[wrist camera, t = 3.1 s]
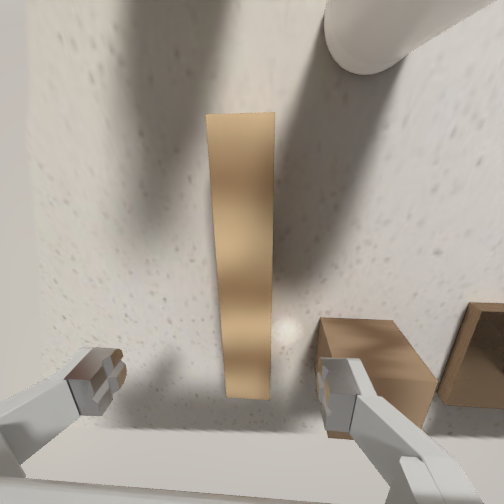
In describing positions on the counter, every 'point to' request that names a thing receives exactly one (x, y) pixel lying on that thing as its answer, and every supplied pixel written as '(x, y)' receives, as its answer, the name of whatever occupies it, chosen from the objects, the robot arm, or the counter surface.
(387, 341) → the walnut block
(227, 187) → the oak rail
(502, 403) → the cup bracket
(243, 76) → the counter surface
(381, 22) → the drinking glass
